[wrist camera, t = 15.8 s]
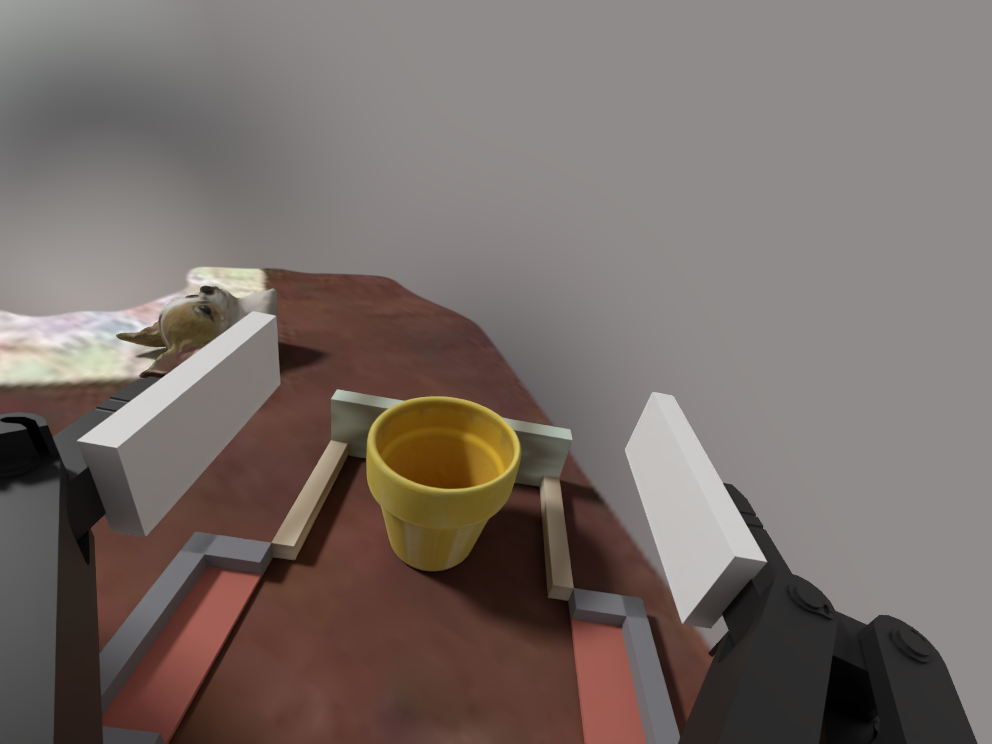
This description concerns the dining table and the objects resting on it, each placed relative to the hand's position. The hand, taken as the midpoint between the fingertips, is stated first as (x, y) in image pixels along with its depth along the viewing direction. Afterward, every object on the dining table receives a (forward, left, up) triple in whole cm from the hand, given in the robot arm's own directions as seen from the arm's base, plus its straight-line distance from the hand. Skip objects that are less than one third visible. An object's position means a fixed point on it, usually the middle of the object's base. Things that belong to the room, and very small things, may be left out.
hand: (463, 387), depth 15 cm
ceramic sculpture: (-29, +30, -21) cm, 46 cm away
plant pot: (-1, +10, -20) cm, 23 cm away
